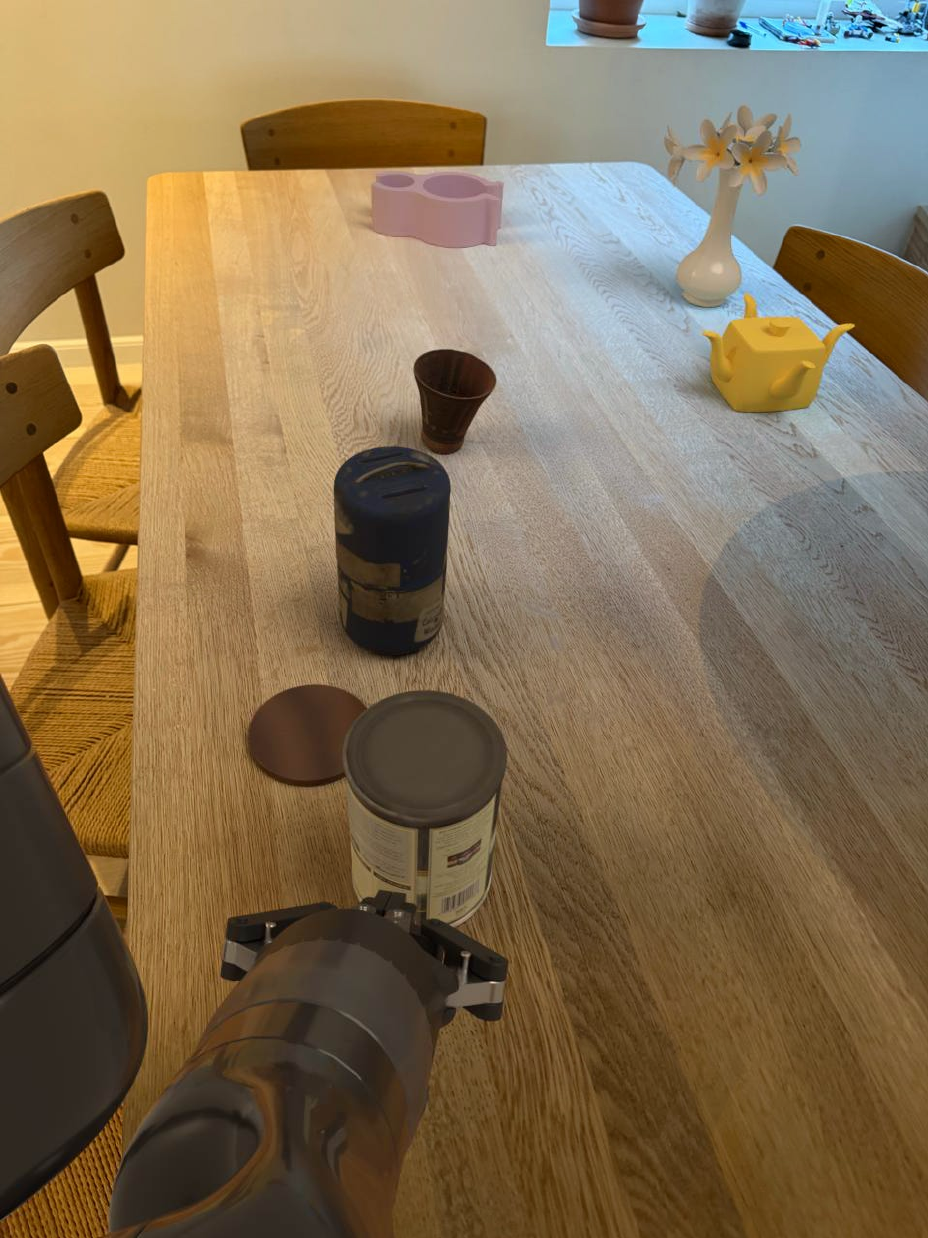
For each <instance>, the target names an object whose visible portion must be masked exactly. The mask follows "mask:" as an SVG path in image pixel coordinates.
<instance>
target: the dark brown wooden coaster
mask: <svg viewBox="0 0 928 1238" xmlns="http://www.w3.org/2000/svg"><path fill="white" fill-rule="evenodd" d="M367 708H368V707H367V706H366V705H365V703H363V702H362V701H361V700H360V699H359V698H358V697H357V696H355V695H354V694H352V693H351V692H349V691H347V690H346V689H342V688H340V687H337V686H333V685H329V684H328V685H327V684H320V683H319V684H318V683H317V684H316V683H314V684H311V683H310V684H303V685H297V686H294V687H289V688H287V689H285V690H283V691H280V692H278V693H277V694H274V695H272V696H271V697H269V699H268V700H266V701H265V702H263V704H262V705H261V706H260V707H259V708H258V709H257V711H256V712H255V714H254V715H253V717H252V719H251V721H250V724H249V728H248V734H247V735H248V736H247V737H248V747H249V751H250V753H251V757H252V758H253V761H254V762H255V764H256V765H257V767H258V768H259V769H260V770H261V771H262V772H263V773H265V774H266V775H267V776H268V777H271V778H272V779H274V780H276V781H278V782H281V783H283V784H287V785H290V786H296V787H317V786H325V785H328V784H331V783H335V782H337V781H339V780H342V779H343V778H346V776H345V772H344V767H343V759H342V754H343V745H344V741H345V738H346V735H347V733H348V731H349V729H350V727H351V726H352V724H353V723H354V721H355V720H356V719H357V718H358V717H359V716H360V715H361V714H362V713H363V712H364V711H365V710H366V709H367Z"/></svg>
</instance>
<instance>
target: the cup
mask: <svg viewBox="0 0 928 1238" xmlns="http://www.w3.org/2000/svg"><path fill="white" fill-rule="evenodd" d="M412 369H413V376H414V380H415V383H416V386H417V389H418V395H419V401H420V402H419V403H420V410H421V411H420V412H421V434H420V438H421V442H422V443H423V445H424V446H425V447H426V448H427V449H428V450H430V451H432V452H435V453H439V454H443V455H445V454H446V455H447V454H454V453H456V452H458V451H460V450H461V449H462V448H463V445H464V442H465V441H464V440H465V437H466V435H467V433H468V430H469V428H470V427H471V424H472V423H473V420H474V418H475V417H476V415H477V413H478V411H479V409H480V408H481V406H482V405H483V403H484V402H485V401H486V400H487V399H488V398H489V396H490V395H492V393H493V391H494V389H495V388H496V385H497V377H496V376H497V375H496V373H495V371H494V370H493V369H492V367H491V366H490V365H489V364H488V363H487V362H485V361H484V360H482V359H480V358H479V357H477V356H476V355H474V354H472V353H470V352H466V351H462V350H457V349H452V348H439V349H433V350H429V351H426V352H423V353H422V354H421V355H419V356H418V357H416V359H415V361H414V363H413V367H412Z"/></svg>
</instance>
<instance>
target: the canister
mask: <svg viewBox="0 0 928 1238" xmlns="http://www.w3.org/2000/svg"><path fill="white" fill-rule="evenodd" d="M451 486H452V485H451V479H450V477H449V473H448V472H447V470H446V468H445V467H444V465H443V464H441V462H439V461H438V460H437V459H436V458H435V457H433V456H431V454H428V453H426V452H424V451H422V450H418V449H415V448H411V447H407V446H400V445H398V446H397V445H389V446H376V447H372V448H368V449H365V450H361V451H360V452H357V453H356V454H353V455H352V456H350V457H349V458H348V459H346V460H345V461H344V462H343V463H342V464H341V466H340V467H339V469H338V470H337V472H336V473H335V477H334V481H333V510H334V511H333V518H334V534H335V536H334V537H335V542H334V543H335V556H336V570H337V588H338V589H337V590H338V591H337V592H338V611H339V620H340V625H341V627H342V630H343V631H344V633H345V634H346V636H347V637H348V638H349V640H351V641H352V642H353V643H354V644H356V645H357V646H359V647H360V648H362V649H364V650H366V651H369V652H372V653H375V654H379V655H387V656H388V655H389V656H396V655H397V656H399V655H406V654H410V653H413V652H416V651H418V650H421V649H423V648H425V647H426V646H427V645H428V644H430V643H432V641H433V640H434V639H435V638H436V637H437V636H438V635H439V632H440V631H441V628H442V626H443V622H444V615H445V614H444V613H445V612H444V611H445V610H444V603H445V592H446V579H447V567H448V546H449V545H448V544H449V527H450V509H451V493H452V487H451Z"/></svg>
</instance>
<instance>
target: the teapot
mask: <svg viewBox="0 0 928 1238" xmlns="http://www.w3.org/2000/svg"><path fill="white" fill-rule="evenodd" d="M743 300H744V314H743V318H737V319H732V320H730V321H729V322H728V324H727V326H726V328H725V331H724V332H723V334H722V336H721V335H720V334H719V333H718V332H716V331H712V330H701V331H700V334H702V336H705V337H706V338H707V339H708V340H709V342H710V346H711V347H710V359H709V360H710V361H709V362H710V368H711V372H710V373H711V374H710V375H711V380H712V383H713V384H714V386H715V387H716V388H717V390H718V392H719V393H720V394H721V396H722V397H723V398H724V399H725V401H726V402H727V403H728V405H729V406H730V407H731V408H732V410H734V411H735V412H737V413H775V412H786V411H792V410H793V411H795V410H801V409H805V408H809V407H810V406H811V405H812V403H813V401H814V400H815V398H816V396H817V393H818V391H819V387H820V384H821V381H822V380H821V379H822V376H823V372H824V371H823V370H824V367H825V366H826V365H827V363H828V361H829V359H830V357H831V354H832V352H833V350H834V348H835V346H836V344H837V342H838V341H839V339H840V338H841V337H842V336H843V335H844V334H845V333H847V332H849V331H850V330H851V329H854V328H855V327H856V326H855V324H854V323H843V324H839V325H836V326H834V327H833V328H832V329H831V330H829V331H828V333H827V334H826V335H825V336H824V337H823V338H822V340H821V339H820V338H819V337H818V336H817V334H816V333H815V332H814V331H813V330H812V329H811V328H810V327H809V326H808V325H807V324H806V323H805V322H804V321H803V320H802V319H801V318H799V317H798V316H758V307H757V302H756V300H755V298H754V296H752V295H751V294H750V293H743Z"/></svg>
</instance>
